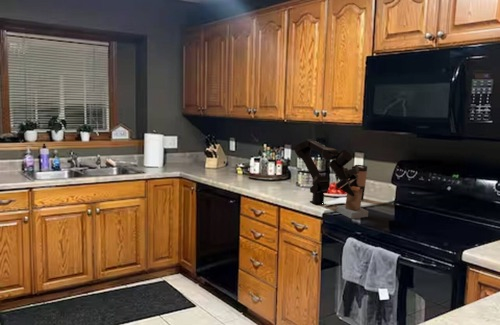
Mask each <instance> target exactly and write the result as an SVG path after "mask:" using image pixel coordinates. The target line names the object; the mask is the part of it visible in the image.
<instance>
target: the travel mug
mask: <svg viewBox="0 0 500 325" xmlns="http://www.w3.org/2000/svg"><path fill="white" fill-rule="evenodd" d="M353 166H357V167H358V168H359V173H358V174H357V175H358V181H357V183H358V186H359V187H360V189H362V197H361V201H363V200H364V196H365V190H366V183H367V174H368V173H367V172H368V166H367V165H363V164H355V165H353ZM356 179H357V178H356Z"/></svg>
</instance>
